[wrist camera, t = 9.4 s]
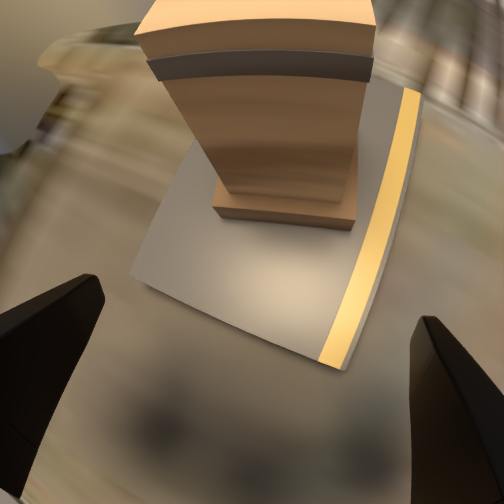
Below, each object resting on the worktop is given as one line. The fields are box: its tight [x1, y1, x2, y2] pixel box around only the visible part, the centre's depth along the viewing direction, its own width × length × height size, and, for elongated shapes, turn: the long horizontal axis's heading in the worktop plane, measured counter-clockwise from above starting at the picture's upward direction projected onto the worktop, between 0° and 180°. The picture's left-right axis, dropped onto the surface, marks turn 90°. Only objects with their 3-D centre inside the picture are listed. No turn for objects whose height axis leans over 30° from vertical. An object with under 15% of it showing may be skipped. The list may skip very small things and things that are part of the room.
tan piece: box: [134, 0, 376, 231], centre depth 12 cm, size 6×7×12 cm
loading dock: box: [128, 77, 424, 371], centre depth 19 cm, size 18×13×3 cm
